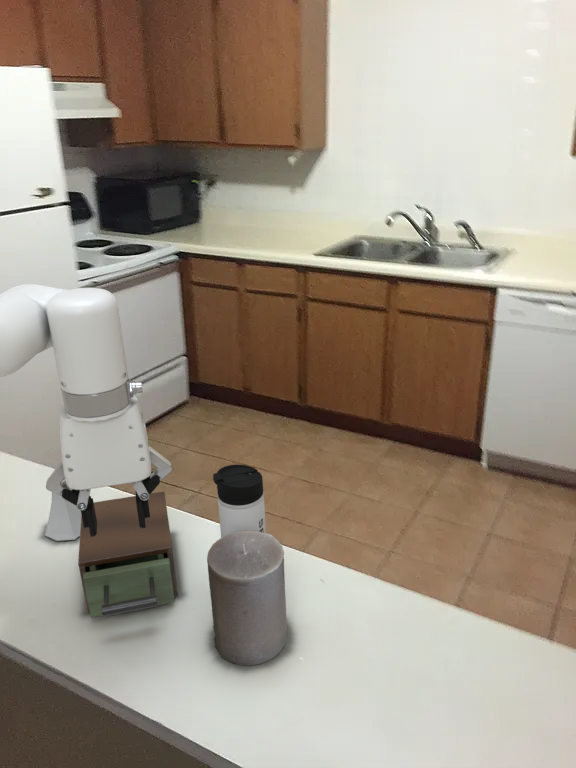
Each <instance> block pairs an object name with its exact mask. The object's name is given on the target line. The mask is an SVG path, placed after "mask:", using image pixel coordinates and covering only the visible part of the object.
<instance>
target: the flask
mask: <svg viewBox="0 0 576 768" xmlns="http://www.w3.org/2000/svg"><path fill="white" fill-rule="evenodd" d="M62 481H63V482H64V483H65V484H66V480H65V477H64V479H63V480H62ZM49 509H50V510H49V514H48V519H47V524H46V528H45V533H44V536H45V537H47V538H49V539H52V540H54V541H57V542H59V541H71V540H76V539H78V538H80V529H81V510H78V509H77V506H76V505H74V504H72V503H71V502H69V501H67V500H65V499H64V498H63V497H62V496H61V495H57V494H55V493H53V492H51V503H50V508H49Z"/></svg>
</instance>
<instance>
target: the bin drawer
mask: <svg viewBox="0 0 576 768" xmlns="http://www.w3.org/2000/svg"><path fill="white" fill-rule="evenodd" d="M89 568H90V572H86V573H83V580H84V585H85V590H86V595H87V600H88V605H89V610H90V612H89V616H90V618H98V617H109V616H114V615H118V614H124V613H128V612H129V613H130V612H134V611H140V610H145V609H150V608H155V607H159V606H160V605H166V604H170V603H171V604H172V603H175V600H176V599H175V596H174V592H173V585H172V577H171V569H170V562H169V558H165V559H164V553H161V554H156V555H150V556H144V557H139V558H133V559H127V560H122V561H116V562H110V563H105V564H99V565H93V566H89Z"/></svg>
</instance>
